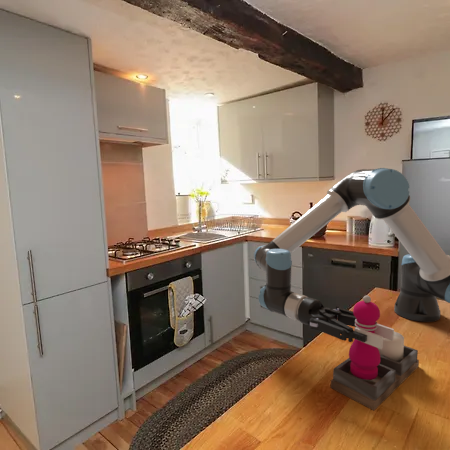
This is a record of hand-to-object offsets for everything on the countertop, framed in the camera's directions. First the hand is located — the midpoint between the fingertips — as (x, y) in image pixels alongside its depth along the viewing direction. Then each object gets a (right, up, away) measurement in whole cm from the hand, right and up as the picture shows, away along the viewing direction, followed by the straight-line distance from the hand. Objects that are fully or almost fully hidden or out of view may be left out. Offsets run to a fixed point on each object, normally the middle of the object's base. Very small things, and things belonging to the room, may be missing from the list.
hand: (387, 338), depth 77 cm
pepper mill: (-3, -11, +6) cm, 12 cm away
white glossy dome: (+8, -11, +15) cm, 20 cm away
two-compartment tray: (+2, -14, +11) cm, 17 cm away
